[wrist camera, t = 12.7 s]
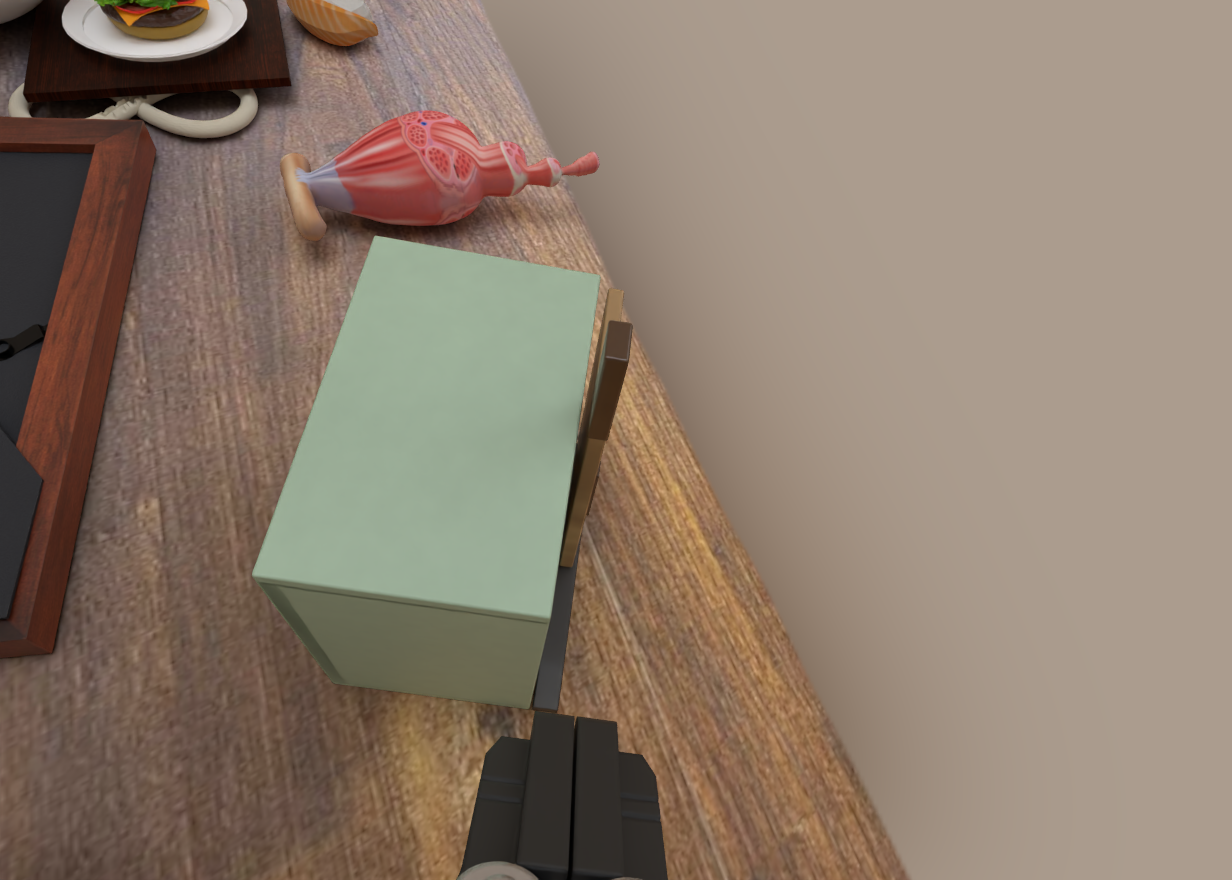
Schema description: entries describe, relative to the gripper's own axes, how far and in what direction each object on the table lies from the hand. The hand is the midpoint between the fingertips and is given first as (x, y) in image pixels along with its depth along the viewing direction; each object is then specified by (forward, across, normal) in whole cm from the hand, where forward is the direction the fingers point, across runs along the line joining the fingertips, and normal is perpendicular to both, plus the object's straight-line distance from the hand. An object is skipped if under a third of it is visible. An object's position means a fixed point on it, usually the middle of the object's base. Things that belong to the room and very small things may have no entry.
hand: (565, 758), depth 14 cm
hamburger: (+35, +26, -16) cm, 46 cm away
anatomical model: (+29, +10, -13) cm, 33 cm away
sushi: (+38, +17, -20) cm, 46 cm away
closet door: (+17, 0, +1) cm, 17 cm away
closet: (+16, +4, +4) cm, 17 cm away
